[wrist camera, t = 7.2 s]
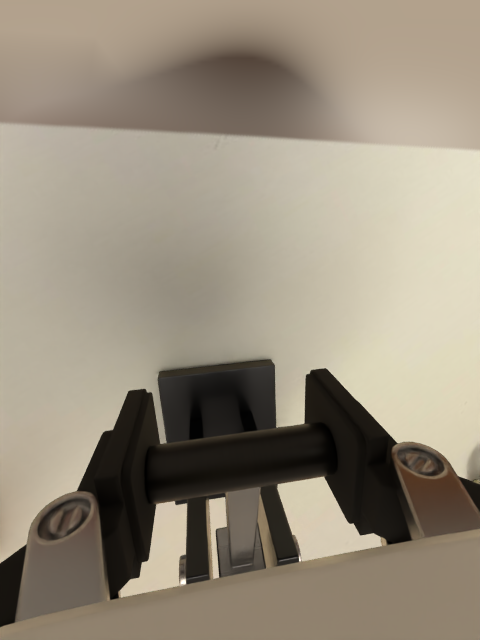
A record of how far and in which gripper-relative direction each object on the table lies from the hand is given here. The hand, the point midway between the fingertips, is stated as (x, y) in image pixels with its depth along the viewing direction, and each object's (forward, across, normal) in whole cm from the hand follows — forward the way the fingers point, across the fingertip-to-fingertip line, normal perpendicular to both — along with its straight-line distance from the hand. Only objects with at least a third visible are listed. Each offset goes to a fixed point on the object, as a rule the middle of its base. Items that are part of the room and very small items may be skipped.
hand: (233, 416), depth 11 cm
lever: (+1, 0, +5) cm, 5 cm away
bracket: (+12, 0, +10) cm, 16 cm away
